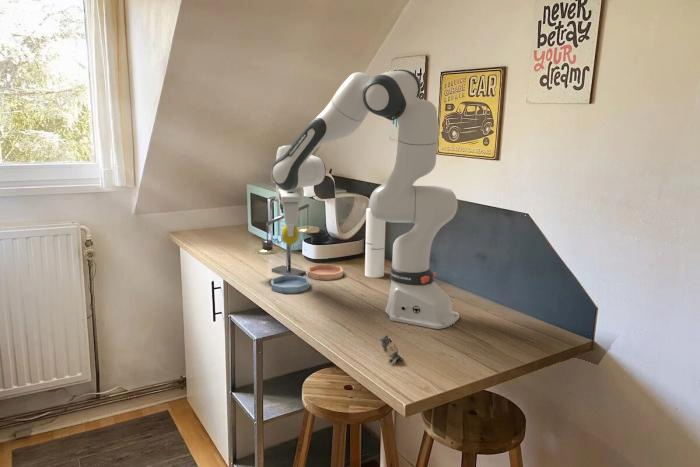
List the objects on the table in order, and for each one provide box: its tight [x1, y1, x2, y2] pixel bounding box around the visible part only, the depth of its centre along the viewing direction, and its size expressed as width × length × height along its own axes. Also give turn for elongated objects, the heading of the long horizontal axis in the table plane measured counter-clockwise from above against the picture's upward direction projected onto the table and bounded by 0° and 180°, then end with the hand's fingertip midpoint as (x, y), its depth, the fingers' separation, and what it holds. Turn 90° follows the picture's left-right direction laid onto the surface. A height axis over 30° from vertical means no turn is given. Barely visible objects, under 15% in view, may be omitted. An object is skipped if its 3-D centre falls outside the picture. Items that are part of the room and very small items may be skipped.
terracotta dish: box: [306, 263, 344, 281], centre depth 203 cm, size 13×13×2 cm
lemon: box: [281, 224, 299, 246], centre depth 184 cm, size 6×6×8 cm
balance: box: [254, 203, 320, 277], centre depth 202 cm, size 31×12×25 cm, turn 143°
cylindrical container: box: [364, 207, 386, 279], centre depth 202 cm, size 7×7×25 cm
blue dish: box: [270, 275, 310, 295], centre depth 188 cm, size 13×13×2 cm
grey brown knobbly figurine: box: [379, 334, 405, 366], centre depth 135 cm, size 5×5×6 cm
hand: (290, 233), depth 184 cm, fingers closed on lemon, 5 cm apart
